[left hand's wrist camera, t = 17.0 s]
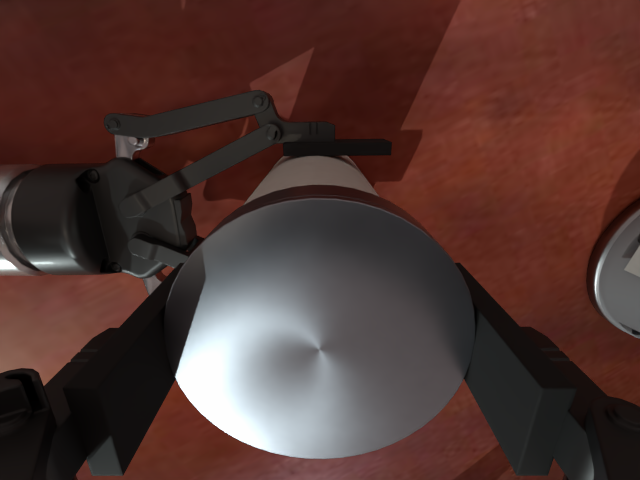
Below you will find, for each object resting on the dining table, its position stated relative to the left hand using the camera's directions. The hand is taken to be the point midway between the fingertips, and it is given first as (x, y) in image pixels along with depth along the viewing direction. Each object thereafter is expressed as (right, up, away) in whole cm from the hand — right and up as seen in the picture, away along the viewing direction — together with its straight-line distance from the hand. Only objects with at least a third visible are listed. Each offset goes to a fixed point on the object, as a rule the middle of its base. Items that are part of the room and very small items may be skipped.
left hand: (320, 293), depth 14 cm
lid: (0, -1, -3) cm, 3 cm away
